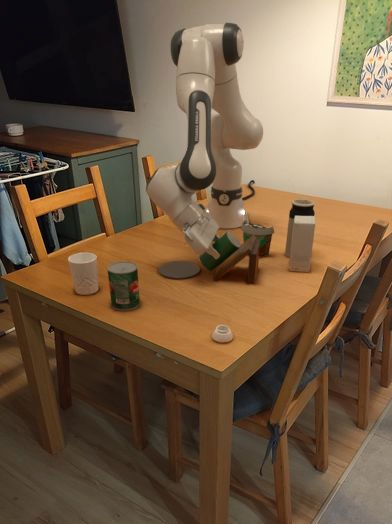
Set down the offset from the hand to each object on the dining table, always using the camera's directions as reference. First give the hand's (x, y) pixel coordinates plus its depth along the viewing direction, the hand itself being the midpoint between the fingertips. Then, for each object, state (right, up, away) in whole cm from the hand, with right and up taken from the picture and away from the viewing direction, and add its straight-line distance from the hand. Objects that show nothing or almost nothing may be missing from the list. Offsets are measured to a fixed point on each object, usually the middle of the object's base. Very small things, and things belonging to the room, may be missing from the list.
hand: (220, 252), depth 142 cm
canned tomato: (-27, -17, -14) cm, 35 cm away
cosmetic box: (+26, -3, +8) cm, 27 cm away
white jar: (-1, -27, -29) cm, 39 cm away
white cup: (-39, -12, -6) cm, 42 cm away
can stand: (+5, -6, +3) cm, 8 cm away
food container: (+12, +3, +17) cm, 21 cm away
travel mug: (+27, +2, +16) cm, 31 cm away
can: (0, 0, 0) cm, 0 cm away
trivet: (-13, -5, +5) cm, 15 cm away
